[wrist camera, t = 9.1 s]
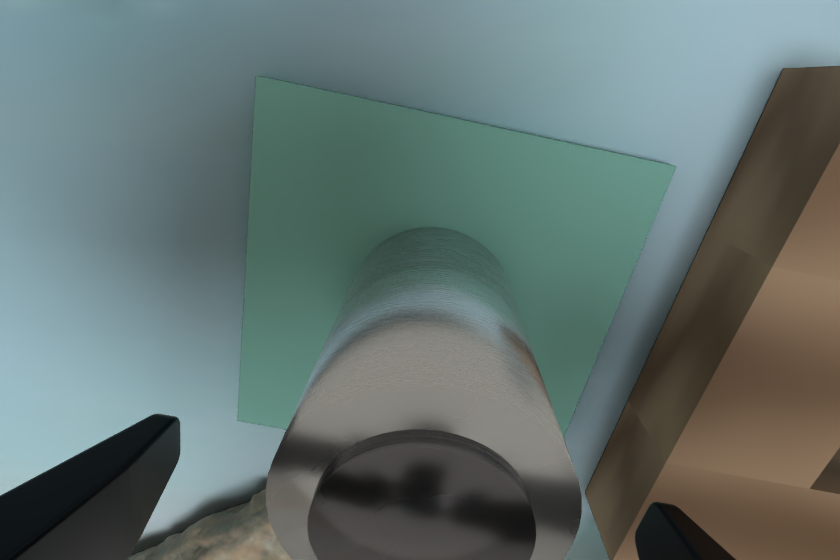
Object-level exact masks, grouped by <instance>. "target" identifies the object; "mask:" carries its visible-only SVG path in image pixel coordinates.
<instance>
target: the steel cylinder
mask: <svg viewBox="0 0 840 560" xmlns="http://www.w3.org/2000/svg"><path fill="white" fill-rule="evenodd" d="M266 507H267V512H268V517H269V521H270V523H271V526H272V529H273V531H274V534H275V535H276V537H277V539H278V541H279V542H280V544H281V546H282V547H283V549H284V550H285V551H286V553H287V554H288V555H289V557H290V558H291V559H292V560H562V559H563V558H564V557H565V555H566V554H567V552H568V551H569V549H570V547H571V545H572V543H573V542H574V539H575V536H576V534H577V531H578V528H579V524H580V518H581V512H582V510H581V492H580V487H579V482H578V479H577V476H576V473H575V470H574V467H573V464H572V462H571V459H570V456H569V453H568V450H567V447H566V445H565V442H564V439H563V436H562V433H561V430H560V427H559V425H558V422H557V419H556V416H555V413H554V410H553V407H552V405H551V402H550V399H549V396H548V393H547V390H546V387H545V385H544V382H543V379H542V376H541V373H540V370H539V367H538V365H537V362H536V359H535V356H534V353H533V350H532V347H531V345H530V342H529V339H528V336H527V333H526V330H525V327H524V325H523V322H522V319H521V316H520V313H519V310H518V307H517V305H516V302H515V299H514V296H513V293H512V290H511V287H510V285H509V282H508V279H507V276H506V274H505V271H504V270H503V268H502V266H501V264H500V263H499V261H498V260H497V259H496V257H495V256H494V255H493V254H492V253H491V252H490V251H489V250H488V249H487V248H486V247H485V246H484V245H482V244H481V243H480V242H478V241H477V240H475V239H473V238H471V237H470V236H468V235H465V234H463V233H460V232H458V231H454V230H450V229H445V228H438V227H423V228H415V229H411V230H407V231H403V232H401V233H398V234H396V235H393V236H391V237H390V238H388V239H386V240H384V241H383V242H381V243H380V244H379V245H378V246H376V247H375V248H374V249H373V250H372V251H371V252H370V253H369V254H368V255H367V257H366V258H365V259H364V261H363V262H362V264H361V265H360V267H359V269H358V271H357V273H356V275H355V277H354V280H353V282H352V284H351V286H350V289H349V291H348V293H347V295H346V298H345V300H344V302H343V304H342V307H341V309H340V311H339V313H338V316H337V318H336V320H335V322H334V325H333V327H332V329H331V331H330V334H329V336H328V338H327V340H326V342H325V345H324V347H323V349H322V351H321V354H320V356H319V358H318V360H317V363H316V365H315V367H314V369H313V372H312V374H311V376H310V378H309V381H308V383H307V385H306V387H305V390H304V392H303V394H302V396H301V399H300V401H299V403H298V405H297V408H296V410H295V412H294V414H293V416H292V419H291V421H290V423H289V425H288V428H287V430H286V432H285V434H284V437H283V439H282V441H281V443H280V446H279V448H278V450H277V452H276V455H275V457H274V459H273V462H272V465H271V467H270V470H269V473H268V478H267V484H266Z"/></svg>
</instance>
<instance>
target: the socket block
mask: <svg viewBox="0 0 840 560" xmlns="http://www.w3.org/2000/svg"><path fill="white" fill-rule="evenodd" d="M585 494H586V497H587V500H588V503H589V505H590V508H591V511H592V514H593V516H594V519H595V522H596V524H597V527H598V530H599V533H600V535H601V538H602V541H603V544H604V546H605V549H606V552H607V554H608V557H609V560H639V558H638V554H637V550H636V545H635V532H636V529H637V527H638V525H639V523H640V521H641V519H642V518H643V516H644V514H645V512H646V510H647V509H648V507H649V505H650V504H651V503H653V502H662V503H668V504H673V505H675V506H677V507H678V508H680V509H681V510H682V511H683V512H684V513H685V514H686V515H687V516H688V517H690V518H691V519H692V520H693V521H694V522H695V523H696V524H697V525H698V526H700V527H701V528H702V529H703V530H704V531H705V532H706V533H707V534H708V535H710V536H711V537H712V538H713V539H714V540H715V541H716V542H717V543H718V544H719V545H721V546H722V547H723V548H724V549H725V550H726V551H727V552H728V553H729V554H731V555H732V556H733V557H734V558H735V559H736V560H840V66H827V67H807V68H786V69H783V71H782V73H781V75H780V77H779V79H778V81H777V84H776V86H775V88H774V90H773V92H772V94H771V96H770V99H769V101H768V103H767V105H766V107H765V109H764V111H763V113H762V116H761V118H760V120H759V122H758V124H757V126H756V128H755V131H754V133H753V135H752V137H751V139H750V141H749V143H748V146H747V148H746V150H745V152H744V154H743V156H742V158H741V160H740V163H739V165H738V167H737V169H736V171H735V173H734V175H733V178H732V180H731V182H730V184H729V186H728V188H727V190H726V193H725V195H724V197H723V199H722V201H721V203H720V205H719V207H718V210H717V212H716V214H715V216H714V218H713V220H712V222H711V225H710V227H709V229H708V231H707V233H706V235H705V237H704V240H703V242H702V244H701V246H700V248H699V250H698V252H697V254H696V257H695V259H694V261H693V263H692V265H691V267H690V269H689V272H688V274H687V276H686V278H685V280H684V282H683V284H682V287H681V289H680V291H679V293H678V295H677V297H676V299H675V301H674V304H673V306H672V308H671V310H670V312H669V314H668V316H667V319H666V321H665V323H664V325H663V327H662V329H661V331H660V334H659V336H658V338H657V340H656V342H655V344H654V346H653V348H652V351H651V353H650V355H649V357H648V359H647V361H646V363H645V366H644V368H643V370H642V372H641V374H640V376H639V378H638V381H637V383H636V385H635V387H634V389H633V391H632V393H631V395H630V398H629V400H628V402H627V404H626V406H625V408H624V410H623V413H622V415H621V417H620V419H619V421H618V423H617V425H616V428H615V430H614V432H613V434H612V436H611V438H610V440H609V442H608V445H607V447H606V449H605V451H604V453H603V455H602V457H601V460H600V462H599V464H598V466H597V468H596V470H595V472H594V475H593V477H592V479H591V481H590V483H589V485H588V487H587V489H586V492H585Z"/></svg>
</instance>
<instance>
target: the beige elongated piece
mask: <svg viewBox="0 0 840 560" xmlns="http://www.w3.org/2000/svg"><path fill="white" fill-rule="evenodd" d="M128 560H292V559H291V558H290V557H289V555H288V554H287V553H286V551H285V550H284V549H283V547H282V546H281V544H280V542H279V541H278V539H277V537H276V535H275V534H274V531H273V529H272V526H271V523H270V521H269V517H268V512H267V507H266V488H265V489H264V490H262V491H261V492H259V493H256V494H254V495H253V496H252V498H251V501H250V502H247V503H244V504H242V505H238V506H235V507H232V508H228V509H227V510H224V511H222V512H219V513H213V514H211V515H209V516H207V517H204V518H202V519H200V520H199V521H198V522H196V523H195V524H193V525H190V526H189V527H188V528H187V529H186V530H185V531H184V532H182V533H178V534H173V535H170V536H169V537H167V538H166V539H165V540H164V542H162V543H160V544H159V545H157V546H155V547H151V548H149V549H146V550H144V551H143V552H139V553H136V554H134V555H133V556H130V557H129V558H128Z"/></svg>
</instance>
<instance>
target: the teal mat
mask: <svg viewBox="0 0 840 560" xmlns="http://www.w3.org/2000/svg"><path fill="white" fill-rule="evenodd" d="M675 169H676V166H673V165H670V164H667V163H662V162H657V161H653V160H648V159H643V158H639V157H634V156H629V155H625V154H620V153H616V152H611V151H606V150H602V149H597V148H592V147H588V146H583V145H578V144H574V143H569V142H565V141H560V140H555V139H551V138H546V137H541V136H537V135H532V134H527V133H523V132H518V131H514V130H509V129H504V128H500V127H495V126H490V125H486V124H481V123H476V122H472V121H467V120H463V119H458V118H453V117H449V116H444V115H439V114H435V113H430V112H426V111H421V110H416V109H412V108H407V107H402V106H398V105H393V104H388V103H384V102H379V101H375V100H370V99H365V98H361V97H356V96H351V95H347V94H342V93H337V92H333V91H328V90H324V89H319V88H314V87H310V86H305V85H300V84H296V83H291V82H286V81H282V80H277V79H273V78H268V77H263V76H256V82H255V100H254V119H253V138H252V156H251V175H250V193H249V212H248V230H247V249H246V268H245V286H244V305H243V323H242V342H241V361H240V379H239V398H238V416H237V421H242V422H247V423H253V424H258V425H264V426H270V427H275V428H281V429H287V428H288V425H289V423H290V421H291V419H292V416H293V414H294V412H295V410H296V408H297V405H298V403H299V401H300V399H301V396H302V394H303V392H304V390H305V387H306V385H307V383H308V381H309V378H310V376H311V374H312V372H313V369H314V367H315V365H316V363H317V360H318V358H319V356H320V354H321V351H322V349H323V347H324V345H325V342H326V340H327V338H328V336H329V334H330V331H331V329H332V327H333V325H334V322H335V320H336V318H337V316H338V313H339V311H340V309H341V307H342V304H343V302H344V300H345V298H346V295H347V293H348V291H349V289H350V286H351V284H352V282H353V280H354V277H355V275H356V273H357V271H358V269H359V267H360V265H361V264H362V262H363V261H364V259H365V258H366V257H367V255H368V254H369V253H370V252H371V251H372V250H373V249H374V248H375V247H376V246H378V245H379V244H380V243H381V242H383V241H384V240H386V239H388V238H390V237H391V236H393V235H396V234H398V233H401V232H403V231H407V230H411V229H415V228H423V227H438V228H445V229H450V230H454V231H458V232H460V233H463V234H465V235H468V236H470V237H471V238H473V239H475V240H477V241H478V242H480V243H481V244H482V245H484V246H485V247H486V248H487V249H488V250H489V251H490V252H491V253H492V254H493V255H494V256H495V257H496V259H497V260H498V261H499V263H500V264H501V266H502V268H503V270H504V271H505V274H506V276H507V279H508V282H509V285H510V287H511V290H512V293H513V296H514V299H515V302H516V305H517V307H518V310H519V313H520V316H521V319H522V322H523V325H524V327H525V330H526V333H527V336H528V339H529V342H530V345H531V347H532V350H533V353H534V356H535V359H536V362H537V365H538V367H539V370H540V373H541V376H542V379H543V382H544V385H545V387H546V390H547V393H548V396H549V399H550V402H551V405H552V407H553V410H554V413H555V416H556V419H557V422H558V425H559V427H560V430H561V433H562V436H563V438H564V436H565V433H566V431H567V428H568V426H569V424H570V421H571V419H572V416H573V414H574V412H575V409H576V407H577V404H578V402H579V400H580V397H581V395H582V392H583V390H584V388H585V385H586V383H587V380H588V378H589V376H590V373H591V371H592V368H593V366H594V364H595V361H596V359H597V356H598V354H599V351H600V349H601V347H602V344H603V342H604V339H605V337H606V335H607V332H608V330H609V327H610V325H611V323H612V320H613V318H614V315H615V313H616V311H617V308H618V306H619V303H620V301H621V299H622V296H623V294H624V291H625V289H626V287H627V284H628V282H629V279H630V277H631V275H632V272H633V270H634V267H635V265H636V263H637V260H638V258H639V255H640V253H641V251H642V248H643V246H644V243H645V241H646V239H647V236H648V234H649V231H650V229H651V226H652V224H653V222H654V219H655V217H656V214H657V212H658V210H659V207H660V205H661V202H662V200H663V198H664V195H665V193H666V190H667V188H668V186H669V183H670V181H671V178H672V176H673V174H674V171H675Z"/></svg>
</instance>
